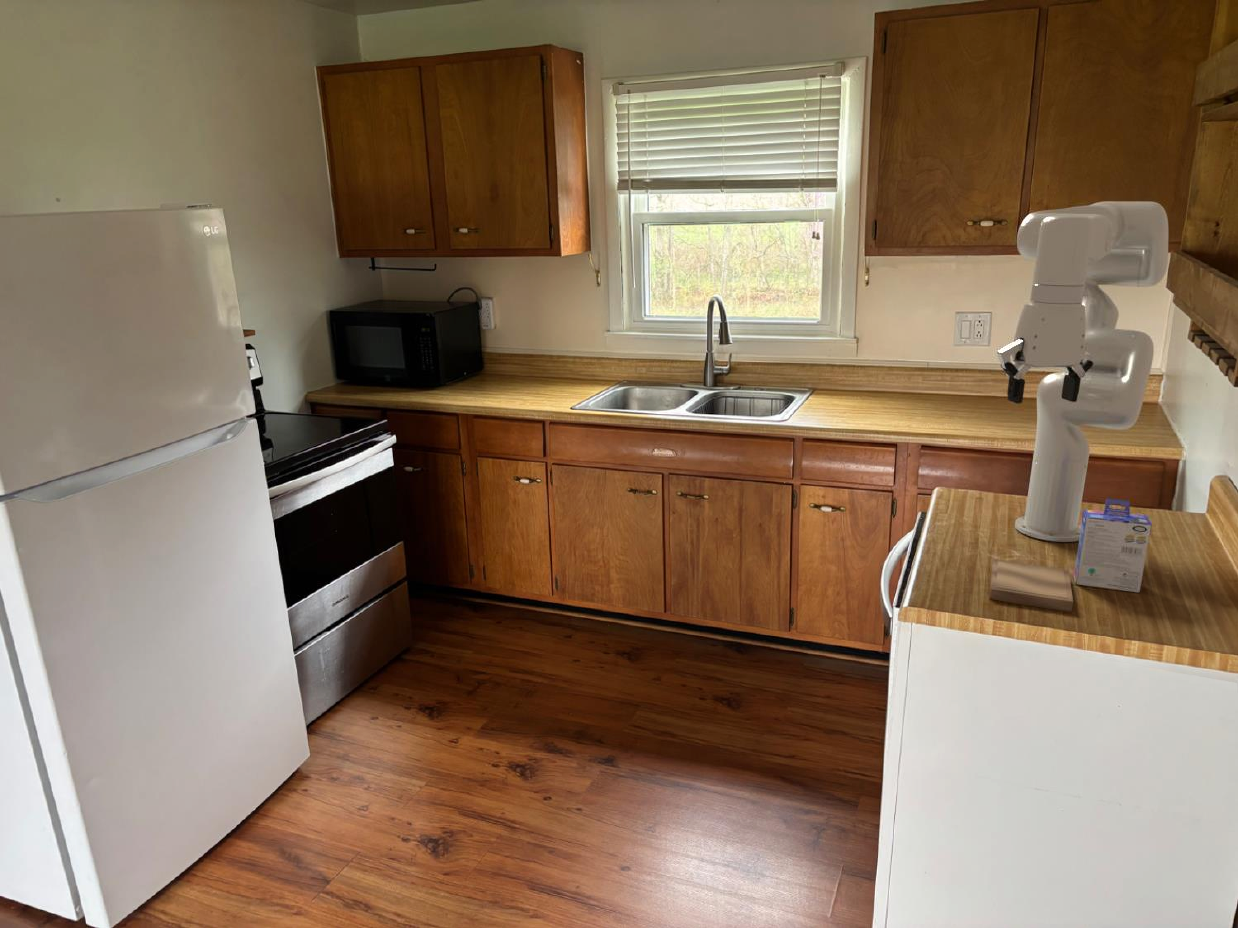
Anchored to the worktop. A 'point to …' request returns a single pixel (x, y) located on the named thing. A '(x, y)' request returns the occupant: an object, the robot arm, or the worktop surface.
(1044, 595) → the board
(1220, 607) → the worktop surface
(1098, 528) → the ink cartridge box
